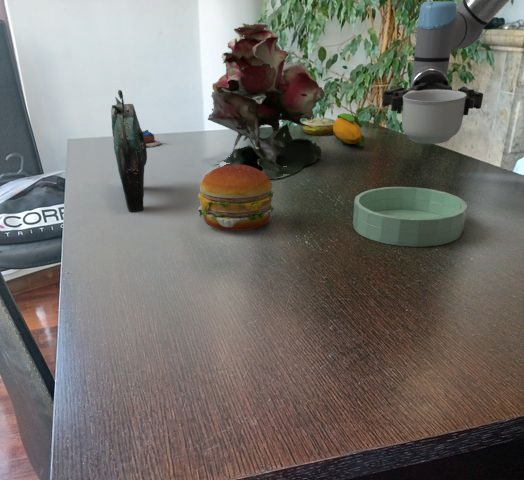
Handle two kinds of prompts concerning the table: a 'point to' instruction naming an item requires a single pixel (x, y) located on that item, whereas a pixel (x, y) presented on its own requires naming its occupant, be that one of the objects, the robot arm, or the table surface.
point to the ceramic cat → (129, 152)
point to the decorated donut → (319, 126)
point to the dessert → (150, 139)
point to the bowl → (409, 216)
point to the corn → (348, 129)
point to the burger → (236, 198)
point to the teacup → (432, 115)
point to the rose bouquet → (265, 102)
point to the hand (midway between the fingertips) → (433, 106)
